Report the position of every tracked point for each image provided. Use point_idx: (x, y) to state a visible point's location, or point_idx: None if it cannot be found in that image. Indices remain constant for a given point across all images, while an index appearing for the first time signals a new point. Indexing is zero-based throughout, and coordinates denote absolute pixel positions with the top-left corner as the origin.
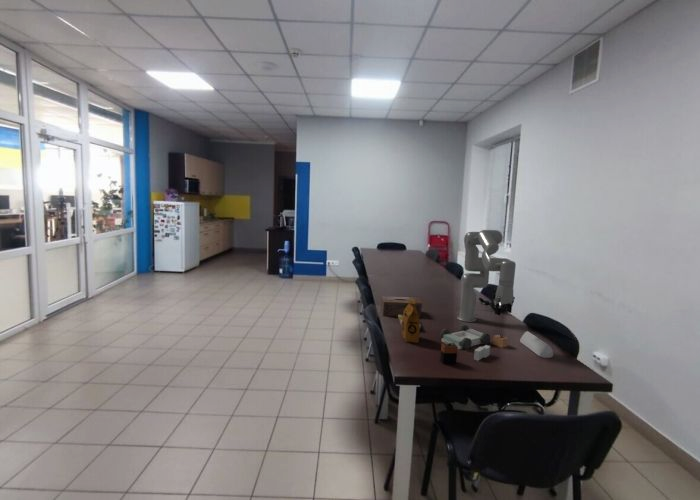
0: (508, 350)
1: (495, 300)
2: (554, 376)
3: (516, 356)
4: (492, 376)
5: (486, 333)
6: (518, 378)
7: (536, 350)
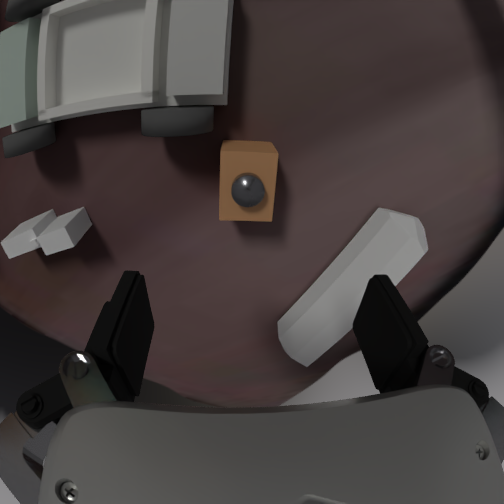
0: (221, 232)
1: (3, 465)
2: (178, 380)
3: (193, 283)
4: (24, 312)
5: (175, 123)
6: (78, 347)
7: (297, 314)
